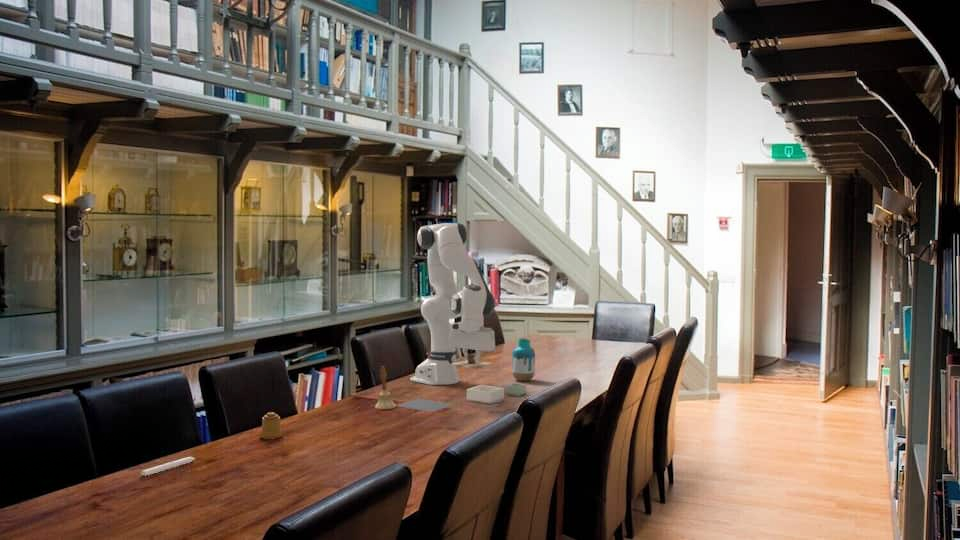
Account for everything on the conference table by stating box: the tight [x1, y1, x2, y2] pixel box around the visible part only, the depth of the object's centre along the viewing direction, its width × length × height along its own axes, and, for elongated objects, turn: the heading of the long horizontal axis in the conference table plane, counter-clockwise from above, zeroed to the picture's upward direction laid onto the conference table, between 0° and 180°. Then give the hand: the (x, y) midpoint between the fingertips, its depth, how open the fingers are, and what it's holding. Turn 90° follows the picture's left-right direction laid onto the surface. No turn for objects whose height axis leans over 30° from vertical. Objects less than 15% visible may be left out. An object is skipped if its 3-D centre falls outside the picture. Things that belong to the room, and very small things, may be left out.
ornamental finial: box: [259, 411, 284, 440], centre depth 268 cm, size 8×8×8 cm
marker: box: [140, 456, 196, 476], centre depth 232 cm, size 18×2×2 cm, turn 150°
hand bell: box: [374, 365, 397, 410], centre depth 312 cm, size 8×8×16 cm
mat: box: [396, 398, 456, 413], centre depth 316 cm, size 18×16×1 cm
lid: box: [451, 354, 493, 370], centre depth 324 cm, size 12×12×4 cm
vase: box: [511, 338, 536, 382], centre depth 370 cm, size 11×11×19 cm
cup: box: [505, 382, 527, 397], centre depth 340 cm, size 6×6×4 cm
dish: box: [466, 384, 505, 405], centre depth 327 cm, size 11×11×5 cm
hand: (471, 360), depth 324 cm, fingers closed on lid, 3 cm apart
